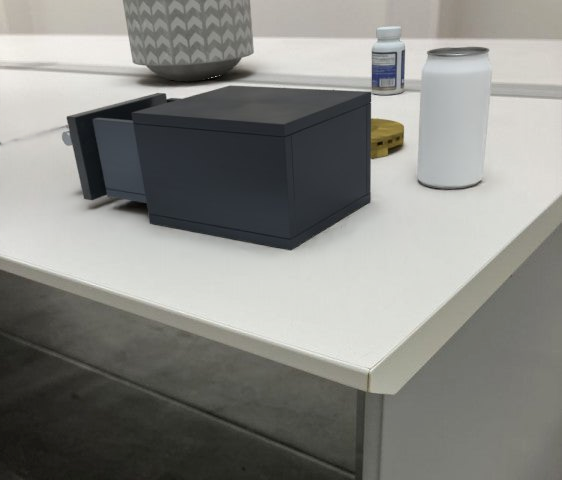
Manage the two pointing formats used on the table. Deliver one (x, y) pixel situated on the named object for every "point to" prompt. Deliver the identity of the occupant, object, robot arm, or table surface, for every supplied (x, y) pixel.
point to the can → (453, 117)
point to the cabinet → (256, 161)
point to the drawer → (109, 149)
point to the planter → (189, 36)
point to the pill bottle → (388, 61)
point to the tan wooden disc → (385, 136)
